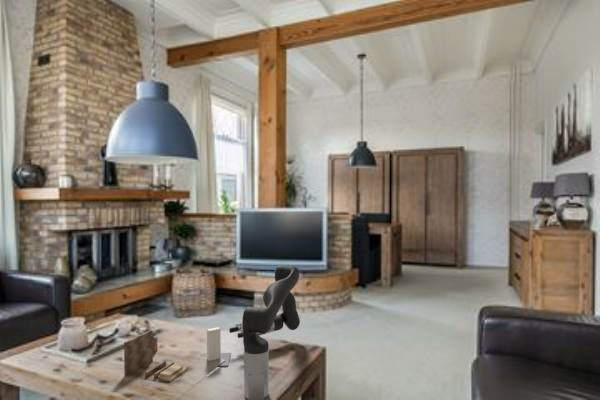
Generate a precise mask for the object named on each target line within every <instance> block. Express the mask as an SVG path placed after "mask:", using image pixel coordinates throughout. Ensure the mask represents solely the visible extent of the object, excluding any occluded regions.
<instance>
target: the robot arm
mask: <svg viewBox="0 0 600 400" xmlns="http://www.w3.org/2000/svg"><path fill="white" fill-rule="evenodd" d="M299 278H300V270H299V267H297V266H294V265H293V266H292V265H287V264H279V265H277V266H276V268H275V272H274V281H273V282H272V283H271V284H269V285H268V287H267V288H266V289H265V291H264V292H263V295H262V299H263V303H264V305H265V307H260V306H259V307H258V306H246V308H245V309H244V310H243V314H242V323H238V324H235V326H233V327H230V328H229V330H228V331H229V333H230V334H231V333H236V332H237V338H238V339H241V338H242V340H243V341H242V342H243V346H244V347H243V349H244V350H243V355H244V356H243V362H244V363H243V365H244V366H243V371H244V372H243V374H244V375H243V377H244V378H243V384H244V385H243V390H244V391H243V392H244V393H243V394H244V398H246V399H247V400H266V398H267V397H268V396H269V387H270V385H269V380H270V379H269V377H270V376H269V375H270V373H269V367H270V365H269V364H270V363H269V360H270V359H269V355H270V354H269V352H270V351H269V347H270V346H269V341H268V340H266V338H263V337H262V335H268V334H270V333H272V332H277V331H281V330H282V329H283V327H284V325H285V326H286V328H288V329H289V330H291V331H295V330H297V329H298V328H299V326H300V322H301V320H300V315H299V313H298V311H297V302H296V299H295V296H294V295H293V293H292V292H291V291H292V290H293V289H294V287H296V285H297V284H298V282H299ZM281 307H282V312H280V313H279V314H278V312H279V311H280V309H281Z"/></svg>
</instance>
